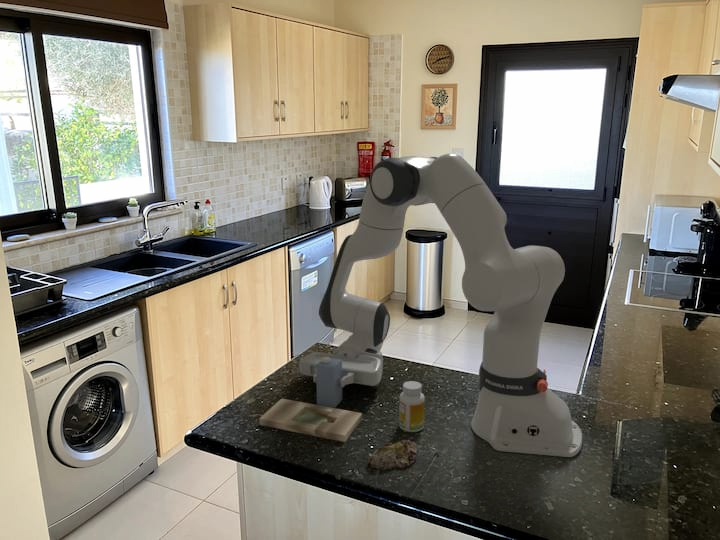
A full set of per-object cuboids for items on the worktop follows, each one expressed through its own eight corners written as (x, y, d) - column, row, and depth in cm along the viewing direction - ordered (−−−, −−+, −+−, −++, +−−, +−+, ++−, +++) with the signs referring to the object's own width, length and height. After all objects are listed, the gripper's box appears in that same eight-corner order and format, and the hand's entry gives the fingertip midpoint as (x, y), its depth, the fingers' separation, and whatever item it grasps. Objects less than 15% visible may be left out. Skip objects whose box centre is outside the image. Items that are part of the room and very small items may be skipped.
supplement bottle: (427, 423, 126) (428, 382, 124) (419, 435, 122) (420, 392, 119) (404, 418, 129) (404, 377, 126) (395, 429, 124) (395, 387, 122)
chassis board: (362, 419, 128) (362, 413, 128) (344, 442, 119) (344, 435, 119) (281, 404, 135) (281, 398, 135) (259, 424, 126) (259, 418, 126)
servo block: (342, 399, 137) (341, 356, 135) (334, 408, 133) (334, 364, 131) (325, 396, 139) (324, 354, 136) (317, 404, 135) (316, 361, 132)
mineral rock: (400, 431, 119) (424, 438, 112) (404, 451, 120) (427, 460, 113) (356, 448, 114) (378, 457, 107) (360, 469, 114) (382, 480, 107)
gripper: (312, 342, 149) (287, 362, 137) (388, 353, 142) (368, 375, 130) (313, 365, 151) (288, 387, 138) (388, 376, 144) (368, 401, 131)
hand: (327, 381), depth 134 cm, fingers closed on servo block, 4 cm apart
